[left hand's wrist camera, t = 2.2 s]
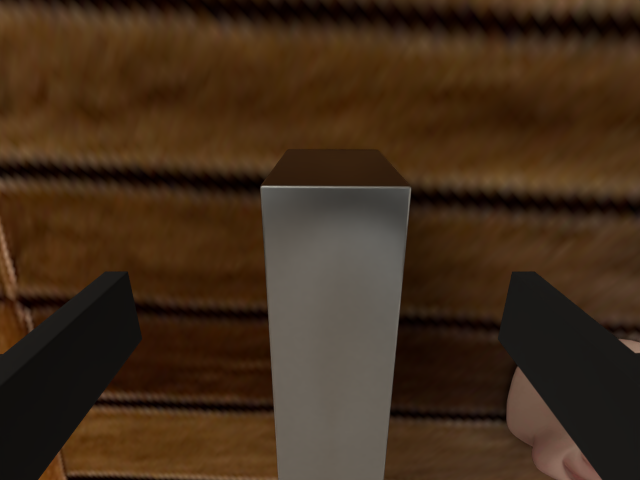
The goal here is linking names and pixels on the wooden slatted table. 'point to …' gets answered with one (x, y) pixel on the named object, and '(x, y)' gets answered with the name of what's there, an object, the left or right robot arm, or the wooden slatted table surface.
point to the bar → (333, 308)
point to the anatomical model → (547, 431)
